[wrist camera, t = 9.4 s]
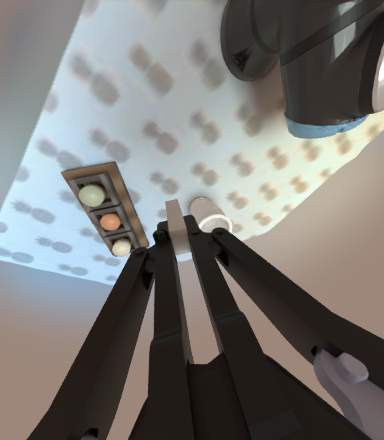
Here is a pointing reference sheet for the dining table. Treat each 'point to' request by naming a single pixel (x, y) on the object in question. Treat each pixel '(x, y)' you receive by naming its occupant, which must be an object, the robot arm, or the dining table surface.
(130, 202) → the button board
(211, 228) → the jar
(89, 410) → the robot arm
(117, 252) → the button cream
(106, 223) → the button terracotta
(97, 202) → the button sage
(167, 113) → the dining table surface
